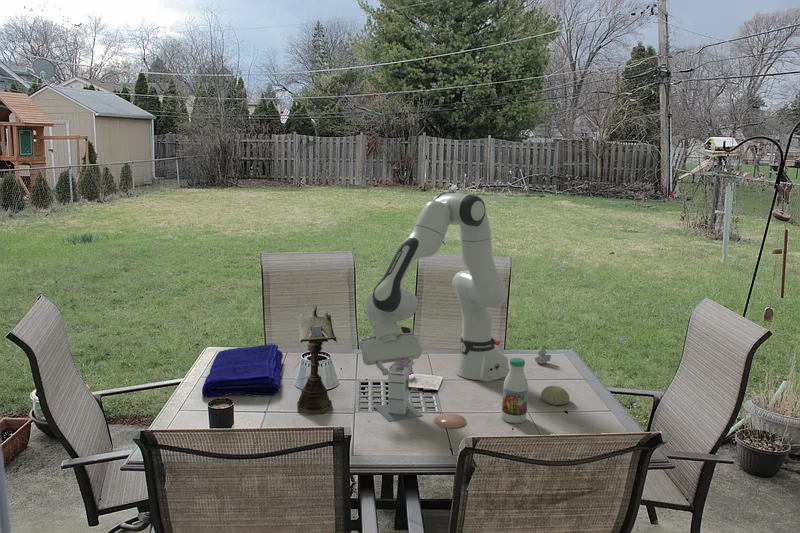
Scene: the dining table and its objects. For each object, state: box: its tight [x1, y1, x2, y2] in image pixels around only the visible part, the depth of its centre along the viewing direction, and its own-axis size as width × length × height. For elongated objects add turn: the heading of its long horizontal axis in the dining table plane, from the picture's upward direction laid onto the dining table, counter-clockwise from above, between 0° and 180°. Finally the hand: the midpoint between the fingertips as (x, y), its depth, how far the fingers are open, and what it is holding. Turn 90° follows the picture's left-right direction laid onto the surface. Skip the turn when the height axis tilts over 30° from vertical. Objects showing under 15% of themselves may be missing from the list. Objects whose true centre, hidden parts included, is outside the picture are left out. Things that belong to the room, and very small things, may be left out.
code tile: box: [374, 403, 424, 422], centre depth 209 cm, size 12×12×1 cm
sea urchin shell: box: [540, 385, 570, 406], centre depth 221 cm, size 9×8×8 cm
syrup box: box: [387, 364, 410, 415], centre depth 207 cm, size 6×6×14 cm
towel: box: [201, 343, 284, 399], centre depth 233 cm, size 26×36×9 cm
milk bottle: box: [501, 357, 529, 424], centre depth 204 cm, size 8×8×20 cm
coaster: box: [433, 412, 467, 429], centre depth 202 cm, size 10×10×1 cm
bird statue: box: [296, 303, 338, 416], centre depth 204 cm, size 17×13×35 cm
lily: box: [388, 360, 415, 375], centre depth 240 cm, size 11×11×9 cm
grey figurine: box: [534, 344, 552, 365], centre depth 258 cm, size 5×7×8 cm
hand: (398, 372), depth 207 cm, fingers closed on syrup box, 7 cm apart
